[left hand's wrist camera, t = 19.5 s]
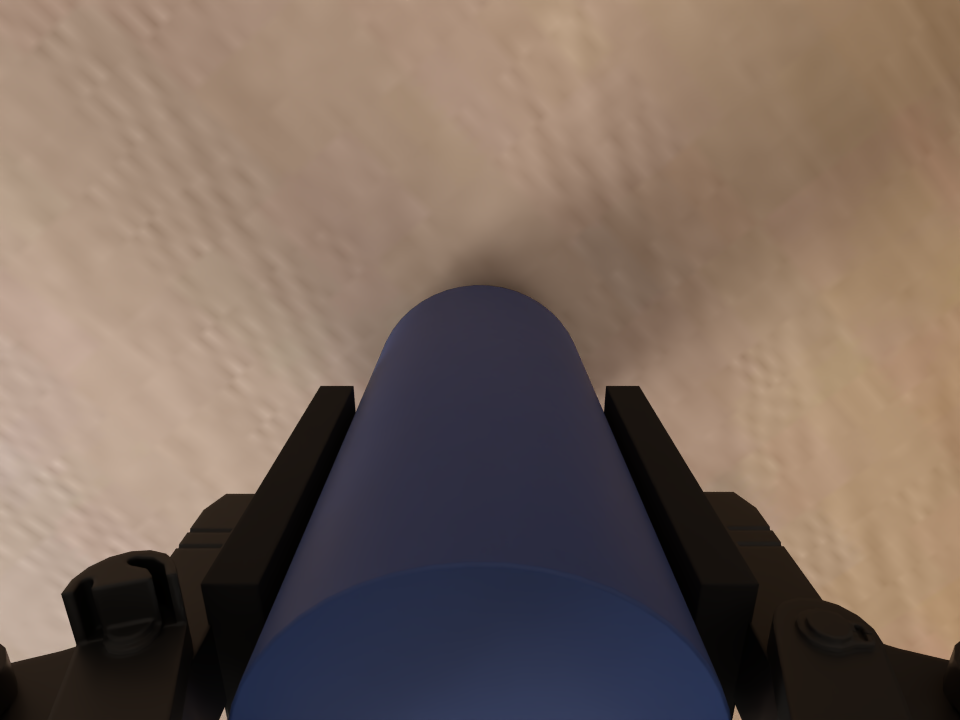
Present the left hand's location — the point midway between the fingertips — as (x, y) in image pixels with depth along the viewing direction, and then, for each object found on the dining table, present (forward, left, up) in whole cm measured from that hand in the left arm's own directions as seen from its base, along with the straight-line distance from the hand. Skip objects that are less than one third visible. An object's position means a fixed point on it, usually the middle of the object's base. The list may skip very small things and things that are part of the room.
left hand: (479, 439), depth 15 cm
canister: (0, 0, -3) cm, 3 cm away
